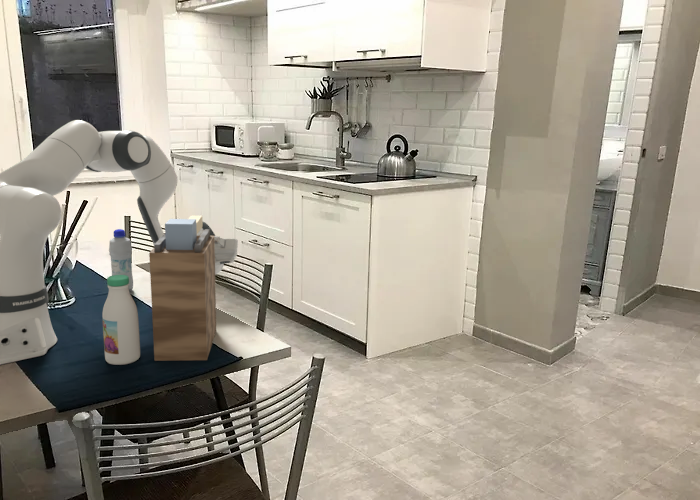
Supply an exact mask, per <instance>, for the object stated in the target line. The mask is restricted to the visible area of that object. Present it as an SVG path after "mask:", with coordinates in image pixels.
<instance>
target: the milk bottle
mask: <svg viewBox="0 0 700 500" xmlns="http://www.w3.org/2000/svg"><path fill="white" fill-rule="evenodd" d="M106 282H107V283H106V284H107V288H108V293H107V296H106V297H107V298H106V300H105V302H104V305H103V307H102V317H101V318H102V333H103V334H102V337H103V347H104V348H103V349H104V350H103V351H104V359H105V361H106V362H107V364H109V365H115V366H116V365H117V366H118V365H119V366H122V365H128V364H132V363H134V362H136V361H137V360H139V358H140V357H141V342H140V341H141V340H140V325H139V314H138V307H137V305H136V302H135V300H134V299H133V297H132V295H131V293H130V292H131V291H130V292H129V289H128V286H129V277H128V276H126V275H113V276H112V275H110V276H107V278H106Z"/></svg>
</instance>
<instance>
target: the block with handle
mask: <svg viewBox="0 0 700 500" xmlns="http://www.w3.org/2000/svg"><path fill="white" fill-rule="evenodd" d="M202 221H203V215H190V216H189V217H188V218H169V219H168V220H167V221H166V222H165V224H164V232H165V233H164V234H165V239H166V250H193V249H194V245H195V243H196V242H197V234H198V232H199V231H200V230H201V228H202V227H203V223H202Z"/></svg>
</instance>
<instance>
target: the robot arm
mask: <svg viewBox="0 0 700 500" xmlns="http://www.w3.org/2000/svg"><path fill="white" fill-rule="evenodd" d="M84 170H88V171H91V172H94V173H99V172H105V173H106V172H107V173H110V172H111V173H119V172H126V171H130V173H131V174H132V176H133V178H134V180H135V181H136V182H137V185H138V187H139V195H138V197H137V199H136V201H137V207H138V209H139V212H140V215H141V217H142V220H143V222H144V225H145V227H146V229H147V231H148V234H149V238H150V239H151V241H152V244H153V245H154V244H155V243H156V242H157V241H158V240H159V239H160V238H161V237H162V236H163V235H164V234H165V233H164V231H163V229H162V226H161V223H160V221H159V214H160V212H161V210H162V208H163V207H164V205H166V203H167V202H169V200H170V199H171V197H172V196H173V194H174V193H175V191H176V188H177V186H178V176H177V173H176V171H175V168H174V166H173V165H172V163H171V161H170V159H169V158H168V157H167V155H166V154H165V152H164V151H163V150H162V149H161V147H160V145H159V144H158V143H156V141H155V140H154V139H153V138H152V137H150V136H148V135H144V134H141V133H139V132H137V131H134V130H131V129H130V130H128V129H125V130H104V131H98V130H97V128H95V127H94V126H93V124H91V123H89V122H87V121H84V120H82V119H81V120H80V119H74V120H71V121H69V122H67V123H66V124H64V125H62V126H60V127H59V128H58V129H56V130H55V131H54V132H52V134H50V135H49V136H47V137H46V138H45V139H44V140H43V141H42V142H41V143H40V144H39V145H38V146H36V148H35V149H33V150H32V151H30V153H29V154H28V155H27V156H25V157H24V158H22V159H21V160H20V161H18V162H17V163H16V164H14V165H12V166H10V167H9V168H7V169H5V170H3V171H2V172H0V365H4V364H5V365H6V364H9V363H13V362H18V361H22V360H27V359H32V358H37V357H41V356H44V355H45V354H47V352H48V350H49V349H50V348H52V347H54V345H55V344H56V343H57V342H58V337H57V336H56V333H55V331H54V329H53V325H52V322H51V318H50V317H51V316H50V314H49V294H48V287H47V285H46V284H45V278H44V277H45V276H44V261H43V260H44V251H45V245H46V242H47V240H48V237H49V235H51V233H52V232H53V231H55V230H56V229H57V227H58V226H59V224H60V223H61V219H62V208H61V204H60V202H59V200H58V199H57V198H56V197H55V196H57V195H59V194H60V193H63V192H64V191H65V190H66V189H67V188H68V187H69V186H70V185H71V184H72V182H74V181H75V180H76V178H77V177H78V176H80V175H81V173H82V172H83V171H84ZM202 223H203V227H202V228H201V230H200V231H199V232H198V234H197V236H201V234H202V233H203V231H204V230H205V229H210V236H214V244H215V275H217V274H219V273H220V272H221V271H222V270H223V268H224V264H231V263H232V264H233V263H235V258H237V255H238V245H239V244H238V239H237V238H222V237H221V236H217V235H216V234H215V232H214V231H213V230H212V228H211V227H210V225H209V224H208V223H207V222H204V221H203V220H202Z"/></svg>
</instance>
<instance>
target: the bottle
mask: <svg viewBox="0 0 700 500" xmlns="http://www.w3.org/2000/svg"><path fill="white" fill-rule="evenodd" d="M132 250H133V247H132V243H131V239H130V238H128V237H126V231H125V230H124V229H121V228H119V229H115V230H113V237H112V238H111V239H110V240H109V246H108V251H109V256H110V267H111V269H110V270H111V276H113V275H126V276H128V277H129V286H128V289H129V292H132V290H133V289H134V277H133V269H132V268H133V264H132V253H133V251H132Z"/></svg>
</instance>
